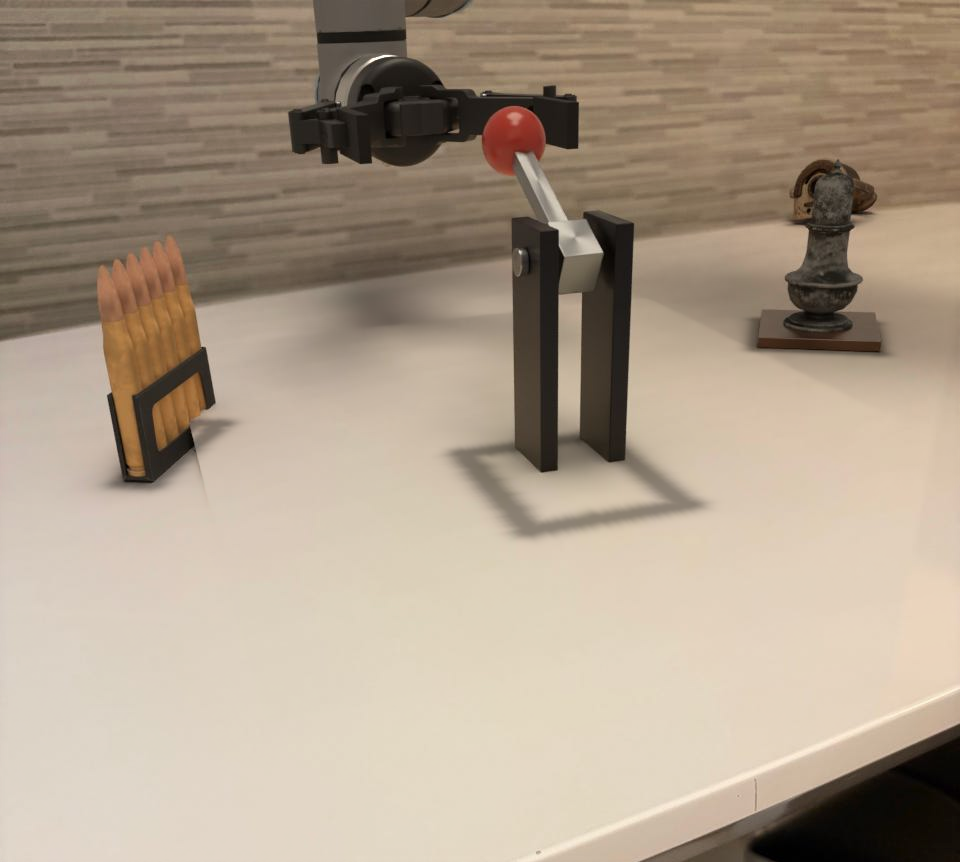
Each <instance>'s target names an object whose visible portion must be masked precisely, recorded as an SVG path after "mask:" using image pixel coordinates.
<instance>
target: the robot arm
mask: <svg viewBox="0 0 960 862" xmlns="http://www.w3.org/2000/svg"><path fill="white" fill-rule="evenodd" d="M474 1H475V0H312V7H313V16H314V24H315V25H314V26H315V33H316V42H317V43H316V49H317V51H316V53H317V61H318V70H319V71H318V73H319V74H318V77H317V79H316V82H315V86H314V104H311V105H307V106H303V107H299V108H293V109H292V110H289V111H287V117H288V127H289V134H290V135H289V136H290V143H291V144H290V145H291V153H294V154H297V155H305V154H306V153H309V152H312V151H314V150H317V149H320V159H321V164H322V165H336V164H339V154H340V155H341V156H343V157H345V158H347V159H349V160H351V161H353V162H355V163H357V164H359V165H369V164H373V159H376V160H378V161H381V164H382V165H383V166H384V167H391V166H392V167H393V166H394V167H399V168H400V167H401V168H403V167H404V168H407V167H412V166H416V165H419V164H422V163H423V162H425V161H426V160H428V159H429V158H431V157H432V156H433V155H434V154H435V153H436V152H437V151H438V150H439V149H440V147H441V146H442V144H446V143H467V142H471V141H475V140H476V138H477V136H482V134H483V130H484V127H485V125H486V123H487V121H488V120H489V119H490V117H491V116H492V115H493V114H494V113H496V112H497V111H498V110H500V109H502V108H505V107H509V106H520V107H523V108H526V109H528V110H530V111H531V112H533V113H534V114H535V115H536V116H537V117H538V119H539V120H540V122H541V123H542V125H543V128H544V131H545V136H546V145H549V146H552V147H557V148H561V149H564V150H578V149H579V137H580V136H579V129H580V128H579V127H580V125H579V123H580V102H579V101H578V96H577V95H576V94H573V93H564V94H557V85H556V84H551V85H543V86H542V94H537V93H536V94H535V93H508V92H507V93H506V92H496V91H493V90H491V89H490V90H489V89H487V90H484V91H481V92H480V93H479V96H478V95H477V94H476V92H475V90H474V89H472V88H447V87H446V86H445V85H444V83H443V81H442V80H441V78H440V76H438V74H437V73H436V71H434V70H433V69H432V68H430V67H429V66H428V65H427V64H425V63H423V62H422V61H420V60H418V59H415V58H412V57H408V49H407V48H408V46H407V45H408V44H407V40H408V39H407V19H406V18H431V19H442V18H447V17H449V16H452V15H453V14H457V13H460V12H463V11H464V10H466V9H467V8H468V7H469V6H470V5H472V3H473V2H474ZM457 130H458V132H455V131H457Z"/></svg>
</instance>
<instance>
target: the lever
mask: <svg viewBox="0 0 960 862" xmlns="http://www.w3.org/2000/svg"><path fill="white" fill-rule="evenodd" d="M546 145H547V144H546V136H545V131H544V128H543V125H542V123H541V122H540V120H539V119H538V117H537V116H536V115H535V114H534V113H533V112H531V111H530V110H528V109H526V108H523V107H520V106H509V107H505V108H502V109H500V110H498V111H497V112H496V113H494V114H493V115H492V116H491V117H490V119H489V120H488V121H487V123H486V125H485V127H484V130H483V134H482V135H481V149H482V153H483V156H484V159H485V161H486V162H487V164H488V165H489V166H490V168H492V170H494V171H496V172H497V173H498V174H500V175H502V176H506V177H514V178H515V177H516V179H517V181H518V183H519V185H520V187H521V189H522V191H523V193H524V195H525V197H526V199H527V201H528V204H529V206H530V208H531V209H532V212H533V214H534V216H535V219H536V220H537V221H540V222H542V223H544V224H547V225H549V226H551V227H553V228H556V229H558V230H559V296H562V295H571V294H582V292H592V291H595V288H596V284H597V280H598V276H599V272H600V268H601V264H602V260H603V256H604V252H603V250H602V248H601V246H600V244H599V242H598V240H597V238H596V236H595V235H594V233H593V231H592V229H591V227H590V225H589V223H588V221H587V219H583V218H579V219H578V218H577V219H569V218H568V216H567V214H566V212H565V211H564V209H563V207H562V205H561V203H560V201H559V199H558V197H557V195H556V192H555V191H554V189H553V188H552V186H551V183H550V181H549V179H548V178H547V175H546V173H545V172H544V170H543V167H542V165H541V164H540V163H541V161H542V158H543V156H544V155H545V151H546Z"/></svg>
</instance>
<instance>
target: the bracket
mask: <svg viewBox="0 0 960 862" xmlns="http://www.w3.org/2000/svg"><path fill="white" fill-rule="evenodd" d="M582 219H587V221H588V223H589V225H590V227H591V229H592V231H593V233H594V235H595V236H596V238H597V240H598V242H599V244H600V246H601V248H602V250H603V252H604V256H603V260H602V264H601V268H600V272H599V276H598V280H597V284H596V288H595V291H592V292H582V293H581V321H580V322H581V329H580V331H581V333H580V334H581V335H580V389H579V390H580V391H579V392H580V395H579V396H580V397H579V400H580V401H579V439H580V440H582V441H583V442H584V443H585V444H586V445H588V446H589V447H590V448H591V449H592V450H593V451H595V452H596V453H597V454H598V455H599V456H601V457H602V458H603V459H604V460H605V461H606V462H608V463H614V462H622V461H626V446H627V424H628V423H627V421H628V399H629V398H628V397H629V372H630V371H629V369H630V345H631V344H630V343H631V342H630V341H631V321H632V320H631V317H632V290H633V267H634V266H633V264H634V243H635V242H634V239H635V223H634V222H632V221H629V220H627V219H624V218H621V217H619V216H616V215H613V214H610V213H608V212H605V211H602V210H599V209H598V210H597V209H596V210H587V211H583V213H582ZM510 225H511V270H512V271H511V282H512V283H511V284H512V286H511V287H512V290H511V291H512V338H513V340H512V343H513V348H512V349H513V351H512V352H513V353H512V354H513V399H514V400H513V403H514V404H513V405H514V406H513V409H514V411H513V413H514V415H513V416H514V448H515V449H516V450H518V451H519V453H520V454H521V455H523V456H524V457H525V459H527V461H528V462H530V463H531V464H532V465H533V467H534V468H535V469H537V470H538V471H539V473H543V474H544V473H550V472H556V471H558V470H559V465H558V464H559V313H560V312H559V311H560V310H559V308H560V307H559V305H560V304H559V303H560V302H559V301H560V300H559V299H560V297H559V296H560V295H559V230H558V229H556V228H553V227H551V226H549V225H547V224H544V223H542V222H540V221H538V220H537V219H536V218H532V217H530V216H527V215H526V216H517V217H512V218H511V224H510Z"/></svg>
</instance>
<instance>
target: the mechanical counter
mask: <svg viewBox="0 0 960 862" xmlns="http://www.w3.org/2000/svg"><path fill="white" fill-rule="evenodd" d="M836 161H837V159H834V158H830V157H821V158H817V159H815V160H812V161H811V162H809V163H808V164H806V165H805V167H803V169H802V170H801V171H800V173H799V174H798V176H797V178H796V180H795V183H794V185H793V186H792V187H791V188H790V190H789V198H790V199H793V215H792V217H793V222H801V221H807V220H811V217H812V208H813V200H814V191H815V185H816V182H817V181H818V180H819V178H821V177H822V176H824V175H826V174H829V173H830V172H831V171H833V170H834V166H833V165H834V164H835V162H836ZM841 165H842V166H841V167H840V171H843V173H844V174H846V175H849V176H850V177H851V178H852V179H853V181H854V183H855V189H854V197H853V204H852V212H851V213H861V212H865V211H867V210H869V209H870V208H871V207H873V205H874V204H875V203H876V201H877V199H878V194H877V193H876V191H875V187H874V185H872V184H870V183H868V182H865V181H863V180H861V178H860V175H859V173H858V172H857V171H856V170H855V169H854V168H853V167H851V166H849V165H847V164H845V163H843V162H841Z"/></svg>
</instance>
